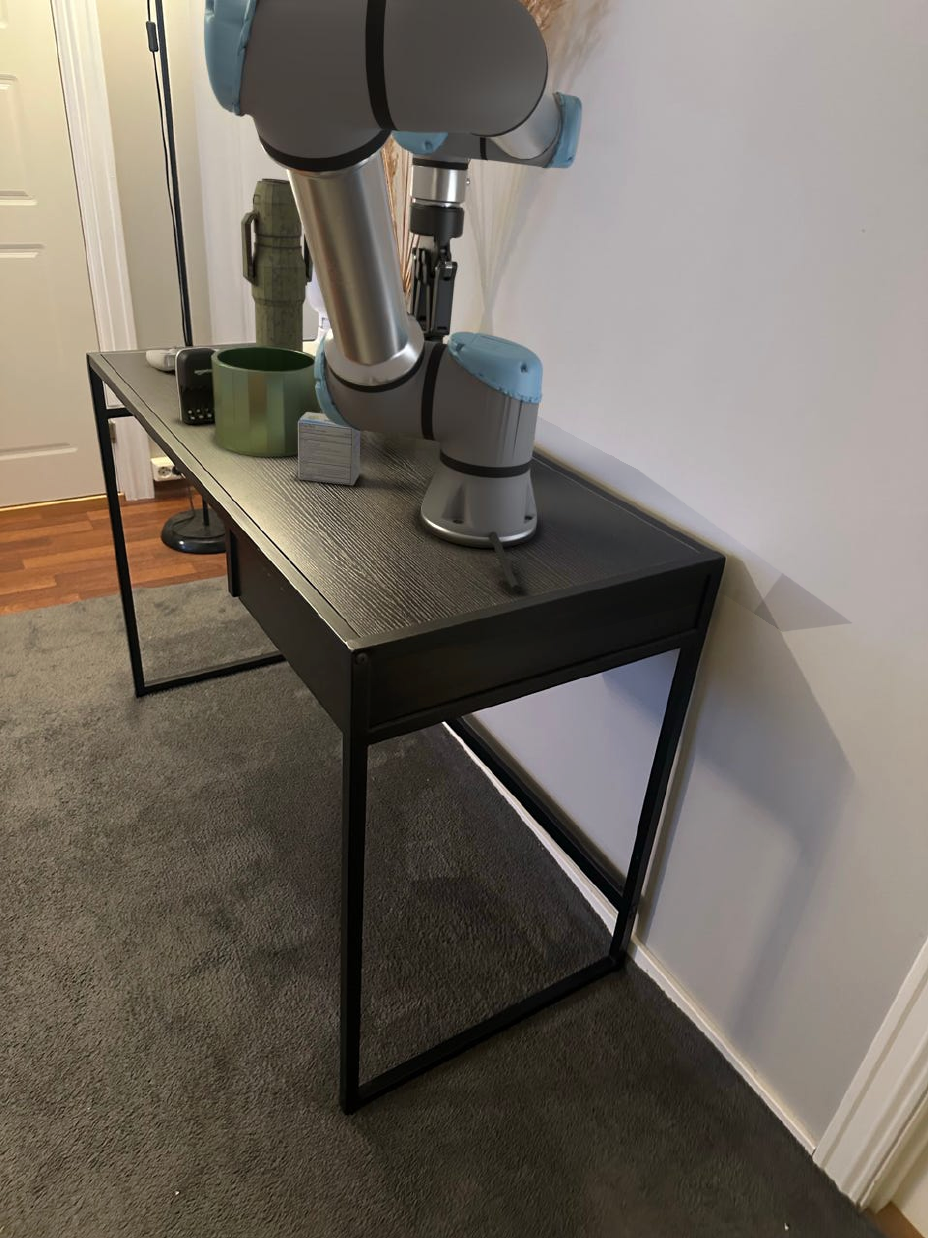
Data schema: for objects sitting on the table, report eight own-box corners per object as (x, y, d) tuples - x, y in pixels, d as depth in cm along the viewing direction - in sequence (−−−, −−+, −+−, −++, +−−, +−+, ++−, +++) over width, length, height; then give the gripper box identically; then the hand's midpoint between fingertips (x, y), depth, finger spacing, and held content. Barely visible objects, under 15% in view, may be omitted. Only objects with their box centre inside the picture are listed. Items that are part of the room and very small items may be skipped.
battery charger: (188, 427, 131) (182, 353, 125) (177, 420, 133) (171, 348, 128) (229, 422, 135) (225, 350, 130) (218, 415, 138) (214, 344, 132)
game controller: (217, 344, 166) (230, 345, 158) (220, 367, 167) (232, 369, 159) (142, 345, 159) (151, 346, 151) (145, 369, 161) (154, 371, 152)
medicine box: (359, 476, 120) (361, 417, 116) (353, 487, 116) (354, 426, 112) (306, 469, 120) (305, 410, 116) (297, 480, 117) (297, 419, 112)
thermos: (237, 399, 146) (227, 175, 129) (294, 391, 154) (292, 178, 136) (264, 413, 141) (258, 181, 123) (322, 404, 148) (324, 184, 131)
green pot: (328, 455, 126) (329, 372, 120) (222, 458, 121) (217, 372, 115) (308, 423, 139) (308, 346, 132) (211, 424, 133) (207, 344, 127)
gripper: (485, 212, 107) (468, 393, 118) (443, 198, 120) (431, 362, 132) (430, 208, 104) (418, 393, 116) (393, 194, 118) (386, 362, 130)
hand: (425, 376), depth 124 cm, fingers closed on bin lid, 4 cm apart
